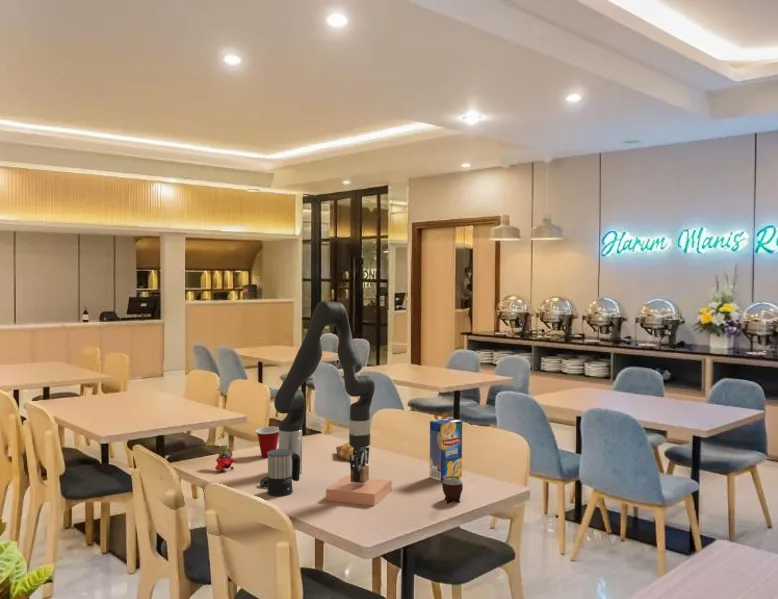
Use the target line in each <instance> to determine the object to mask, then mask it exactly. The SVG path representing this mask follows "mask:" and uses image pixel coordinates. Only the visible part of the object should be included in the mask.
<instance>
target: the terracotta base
mask: <svg viewBox="0 0 778 599" xmlns="http://www.w3.org/2000/svg"><path fill="white" fill-rule="evenodd" d="M392 481H393V480H391V479H381V478H373V477H369V480H368V481H366V482H365V483H355V482H351V475H344V476H343V477H341V478H340V479H338V480H337V481H336V482H334V483H333V484H332V485H330V486H328V487H327V488H326V489H325V500H326V501H330V502H337V503H347V504H356V505H363V506H373V507H375V506H377V504H379V502H381V501H382V500H383V499H384V498H385V497H387V496H388V495H389V494H390V493H391V492H392Z"/></svg>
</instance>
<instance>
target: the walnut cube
mask: <svg viewBox="0 0 778 599" xmlns="http://www.w3.org/2000/svg"><path fill="white" fill-rule="evenodd" d="M366 465H367V464H366ZM366 465H361V466H360V481H359V482H355V483H365V482H366V481H368V480H369V478H370V477H369V476H370V475H369V474H370V470H369V468H370V466H369V465H367V466H366ZM350 476H351V482H354V480H353V479H354V471H351V470H350Z"/></svg>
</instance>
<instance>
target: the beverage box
mask: <svg viewBox="0 0 778 599" xmlns="http://www.w3.org/2000/svg"><path fill="white" fill-rule="evenodd" d="M456 462H457V464H456V466H455V471H454V476H455V477H459V478H461V477H463V420H461V419H456V418H452V417H449V418H444V419H443V418H441V419H437V420H436V419H435V420H430V421H429V478H431V479H433V480H437V481H439V482H443V481H444V479H445V478H446V477H449V476H452V474H453V467H454V465H455V463H456Z"/></svg>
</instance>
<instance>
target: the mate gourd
mask: <svg viewBox="0 0 778 599" xmlns="http://www.w3.org/2000/svg"><path fill="white" fill-rule="evenodd" d="M456 464H457V462H456V463H455V465H454V467H453V474H452V476H449V477H446V478H445V479H444V481H442V485H441V486H442V487H441V488H442V492H443V494H444V500H445V501H446V504H450V503H457V504H460V503H461V501H460V499H461V496H462V493H463V488H464V485H463V481H462V479H461V477H455V476H454V471H455V466H456Z"/></svg>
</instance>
